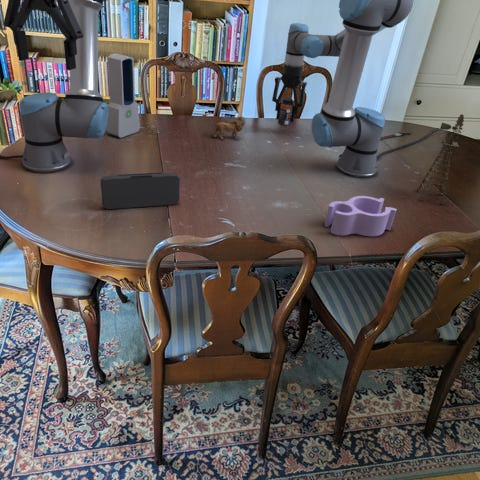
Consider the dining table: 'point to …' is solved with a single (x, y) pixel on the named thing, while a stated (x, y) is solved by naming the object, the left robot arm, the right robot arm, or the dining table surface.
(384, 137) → the sword
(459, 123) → the miniature windmill
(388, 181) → the dining table surface
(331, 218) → the clip
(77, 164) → the dining table surface
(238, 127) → the lion figurine
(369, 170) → the right robot arm
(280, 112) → the supplement bottle
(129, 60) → the electronic device
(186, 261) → the dining table surface
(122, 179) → the handheld gaming console
